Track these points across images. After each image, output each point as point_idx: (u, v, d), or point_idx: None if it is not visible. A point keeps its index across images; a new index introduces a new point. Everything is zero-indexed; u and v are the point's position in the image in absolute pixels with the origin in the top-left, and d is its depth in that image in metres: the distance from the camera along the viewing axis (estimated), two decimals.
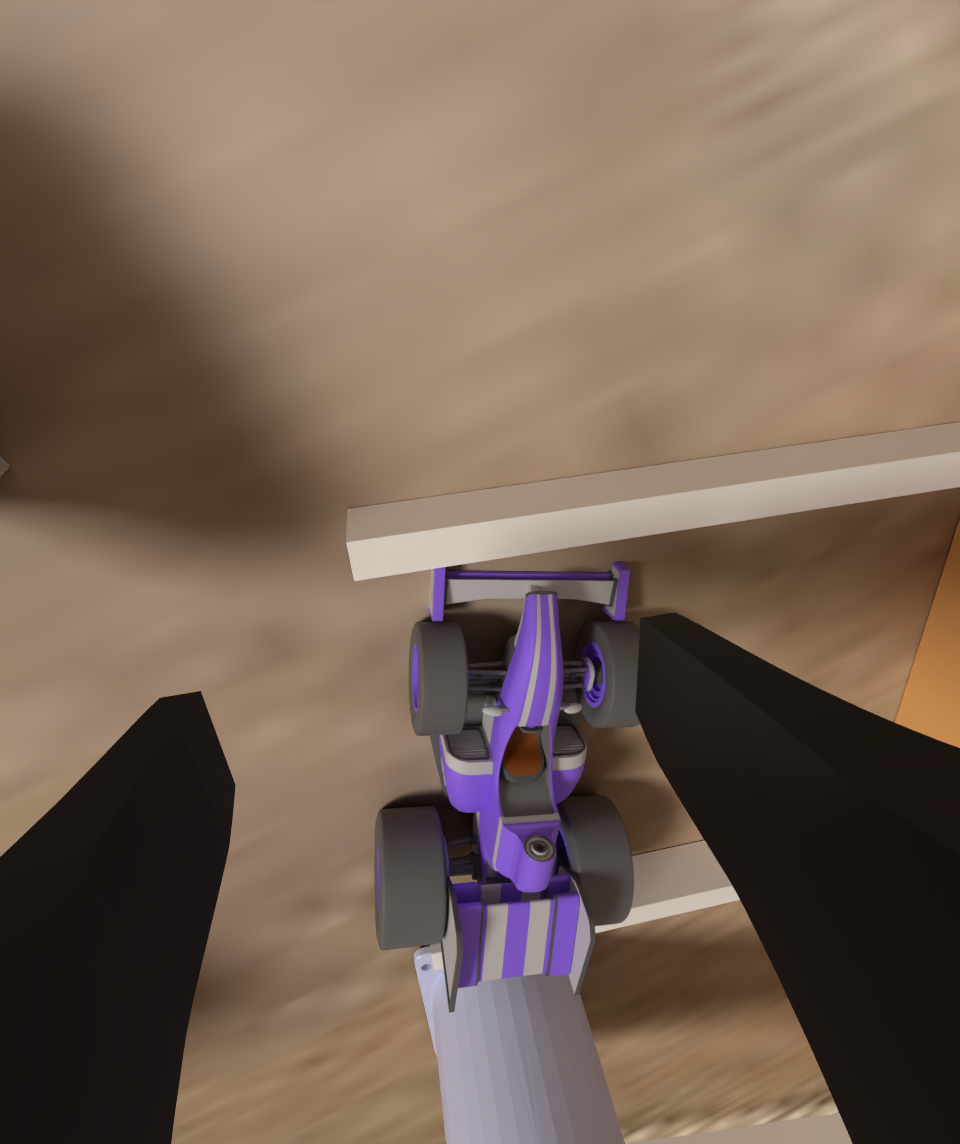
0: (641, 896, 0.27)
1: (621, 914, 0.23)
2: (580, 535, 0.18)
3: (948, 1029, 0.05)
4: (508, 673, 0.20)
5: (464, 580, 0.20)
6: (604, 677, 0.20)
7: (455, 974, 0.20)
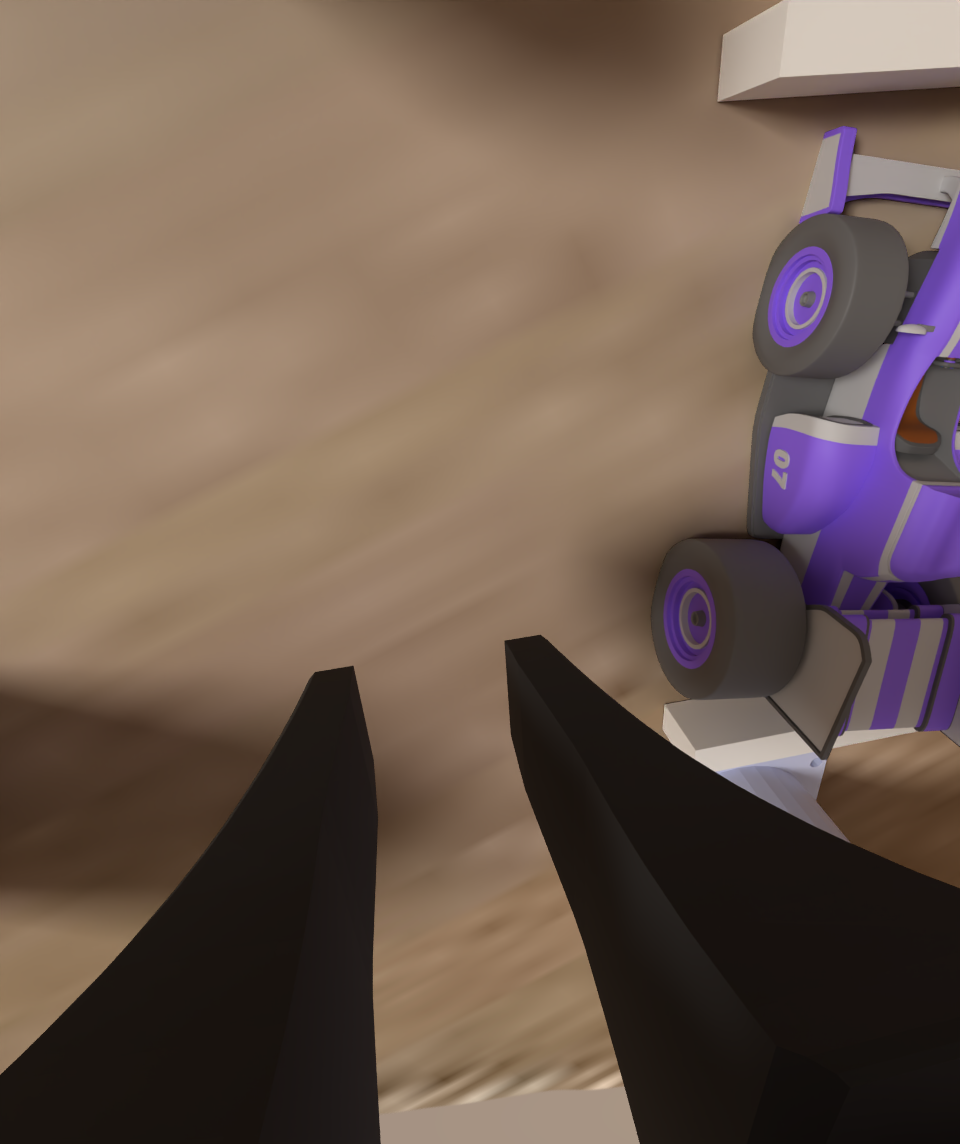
0: None
1: None
2: None
3: (690, 1097, 0.05)
4: (927, 284, 0.15)
5: (869, 158, 0.15)
6: None
7: (852, 693, 0.15)
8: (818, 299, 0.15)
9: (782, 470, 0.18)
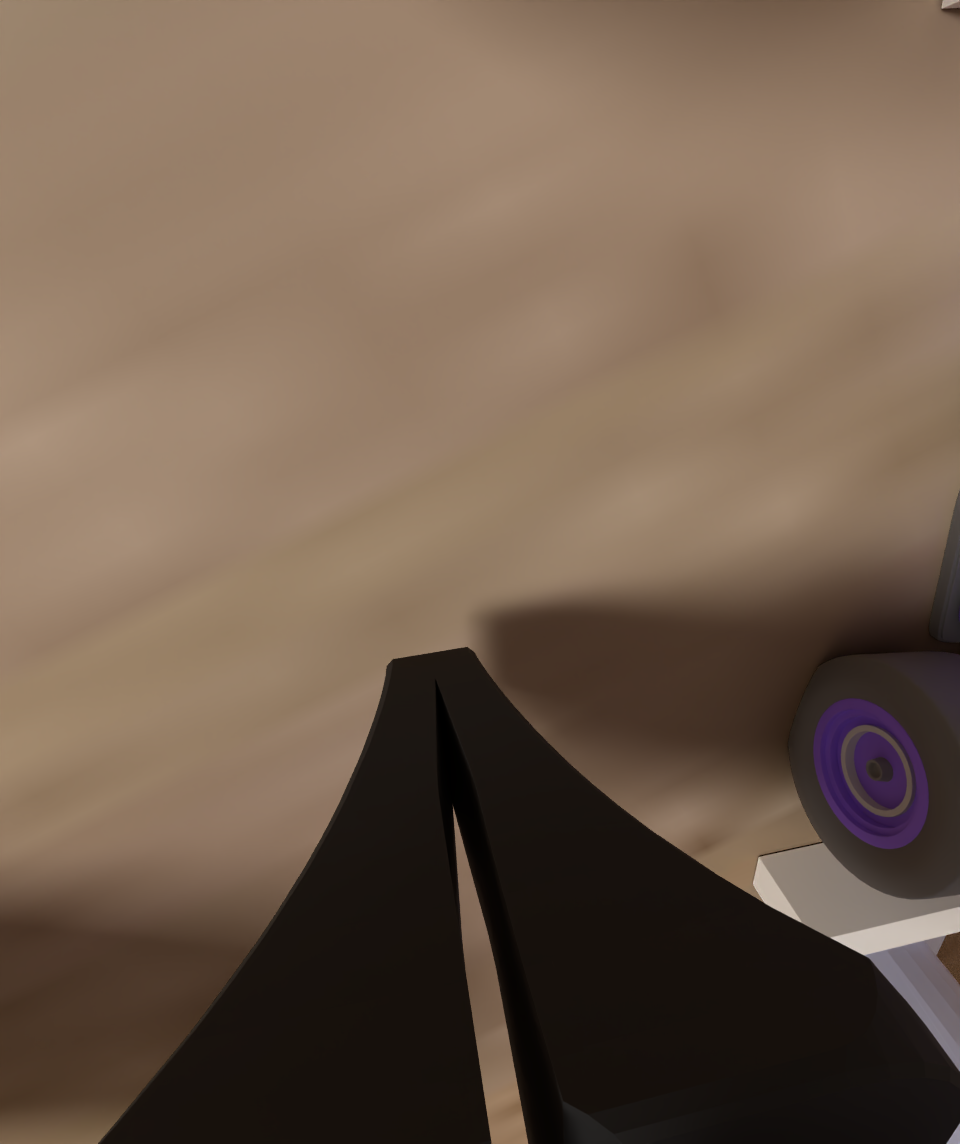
0: None
1: None
2: None
3: (543, 1136, 0.05)
4: None
5: None
6: None
7: None
8: None
9: None
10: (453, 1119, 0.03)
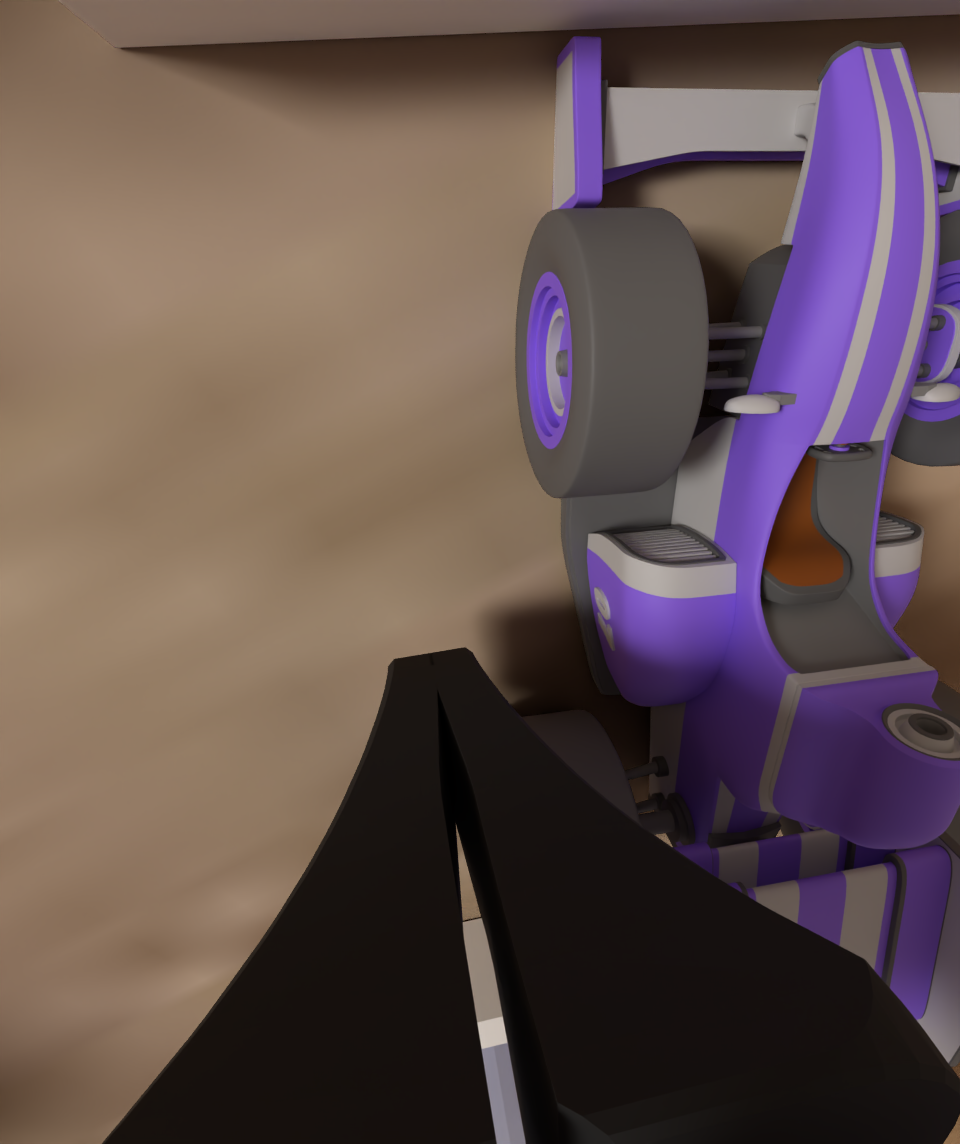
0: None
1: None
2: None
3: (540, 1137, 0.05)
4: (778, 314, 0.08)
5: (644, 92, 0.08)
6: None
7: None
8: None
9: (606, 620, 0.11)
10: (458, 1118, 0.03)
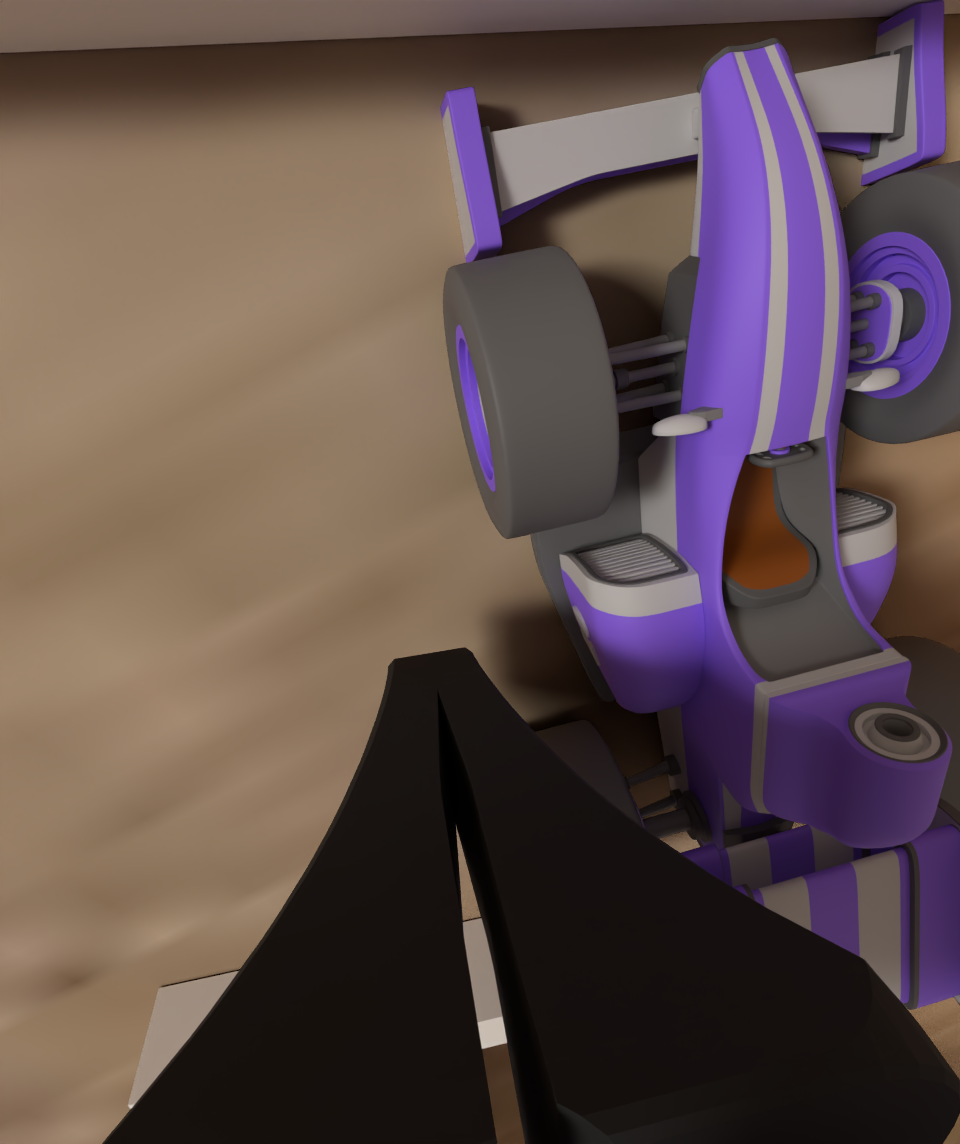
0: None
1: None
2: None
3: (539, 1137, 0.05)
4: (695, 328, 0.08)
5: (530, 128, 0.08)
6: (944, 280, 0.08)
7: None
8: None
9: (588, 637, 0.11)
10: (458, 1118, 0.03)
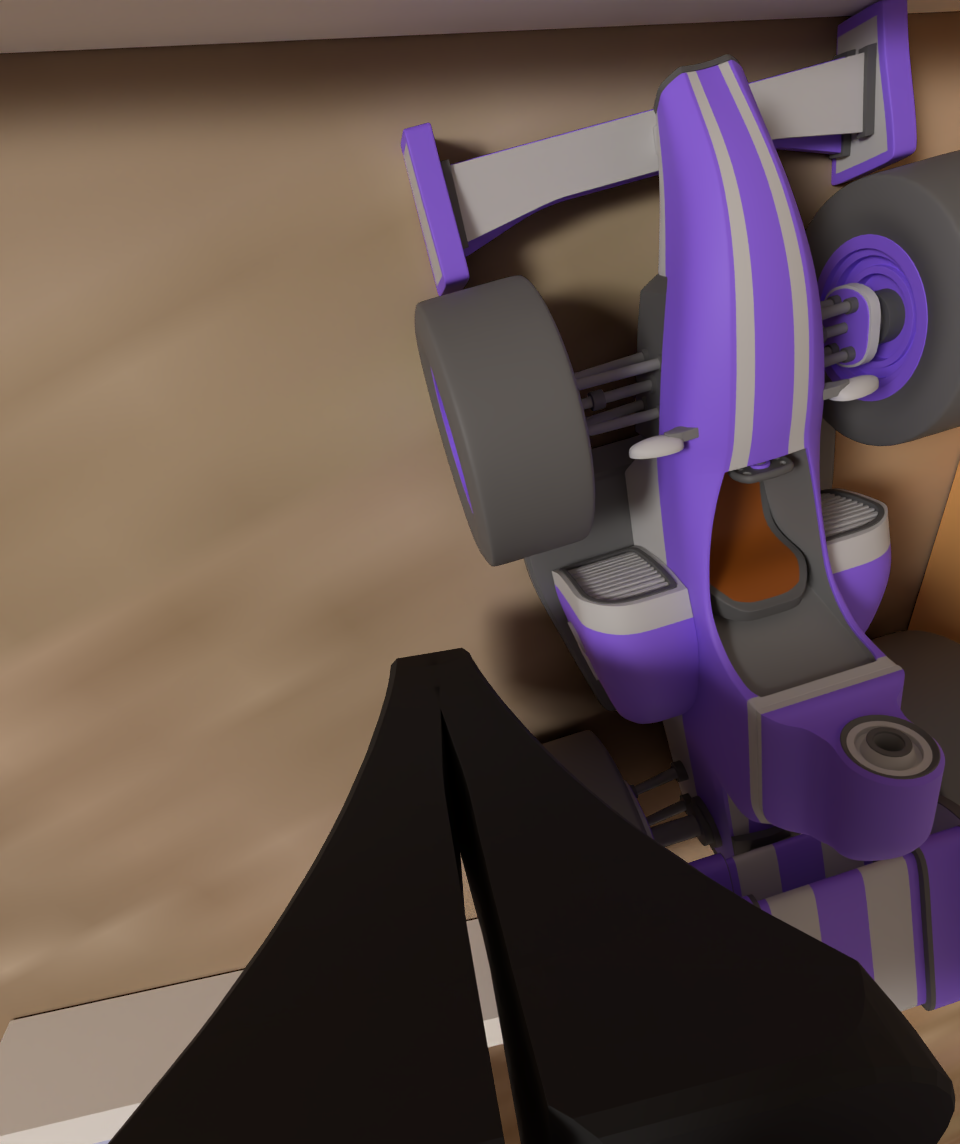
0: None
1: None
2: None
3: (533, 1139, 0.05)
4: (667, 348, 0.08)
5: (490, 158, 0.08)
6: (919, 283, 0.08)
7: None
8: None
9: (585, 652, 0.11)
10: (465, 1116, 0.03)
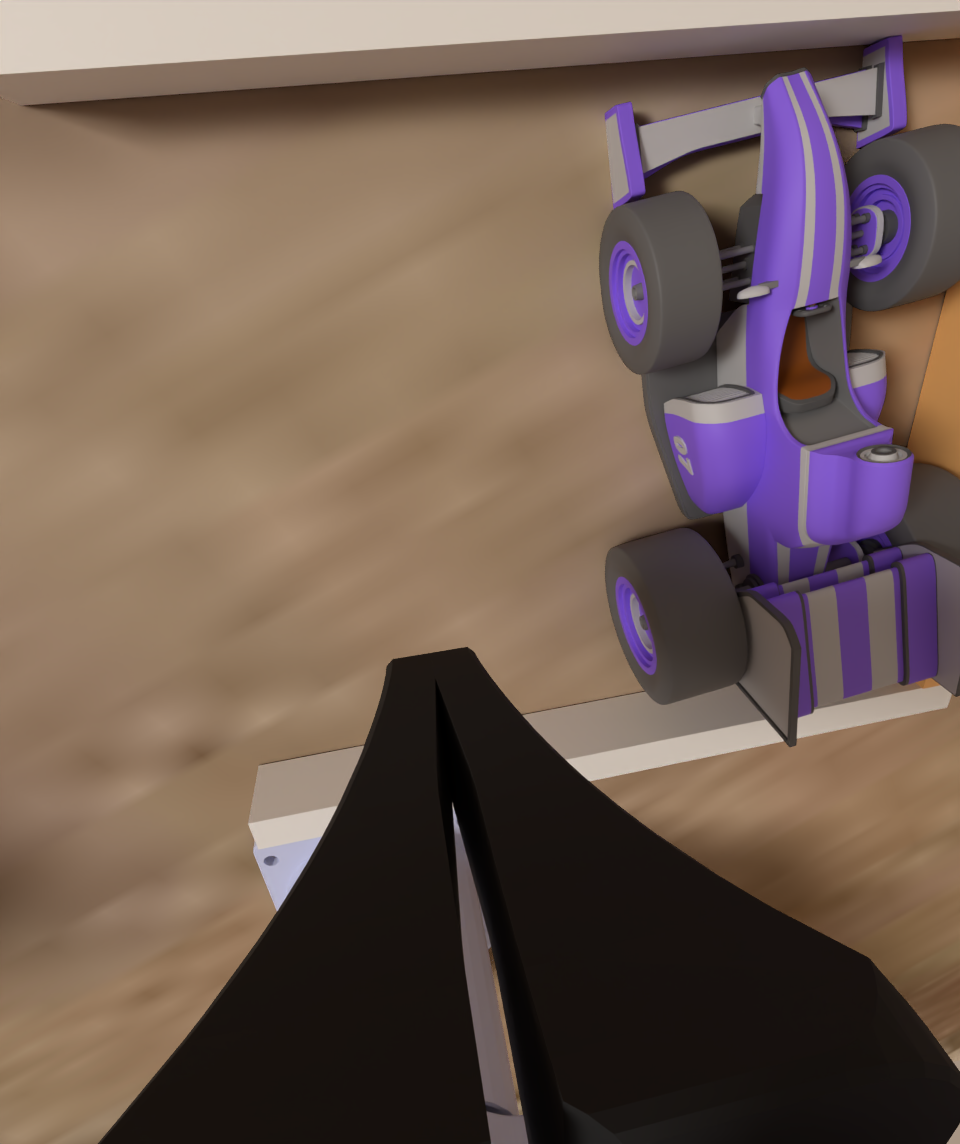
0: None
1: None
2: (350, 25, 0.11)
3: (543, 1136, 0.05)
4: (760, 235, 0.14)
5: (660, 123, 0.14)
6: (906, 200, 0.14)
7: (793, 681, 0.15)
8: None
9: (685, 456, 0.17)
10: (453, 1119, 0.03)
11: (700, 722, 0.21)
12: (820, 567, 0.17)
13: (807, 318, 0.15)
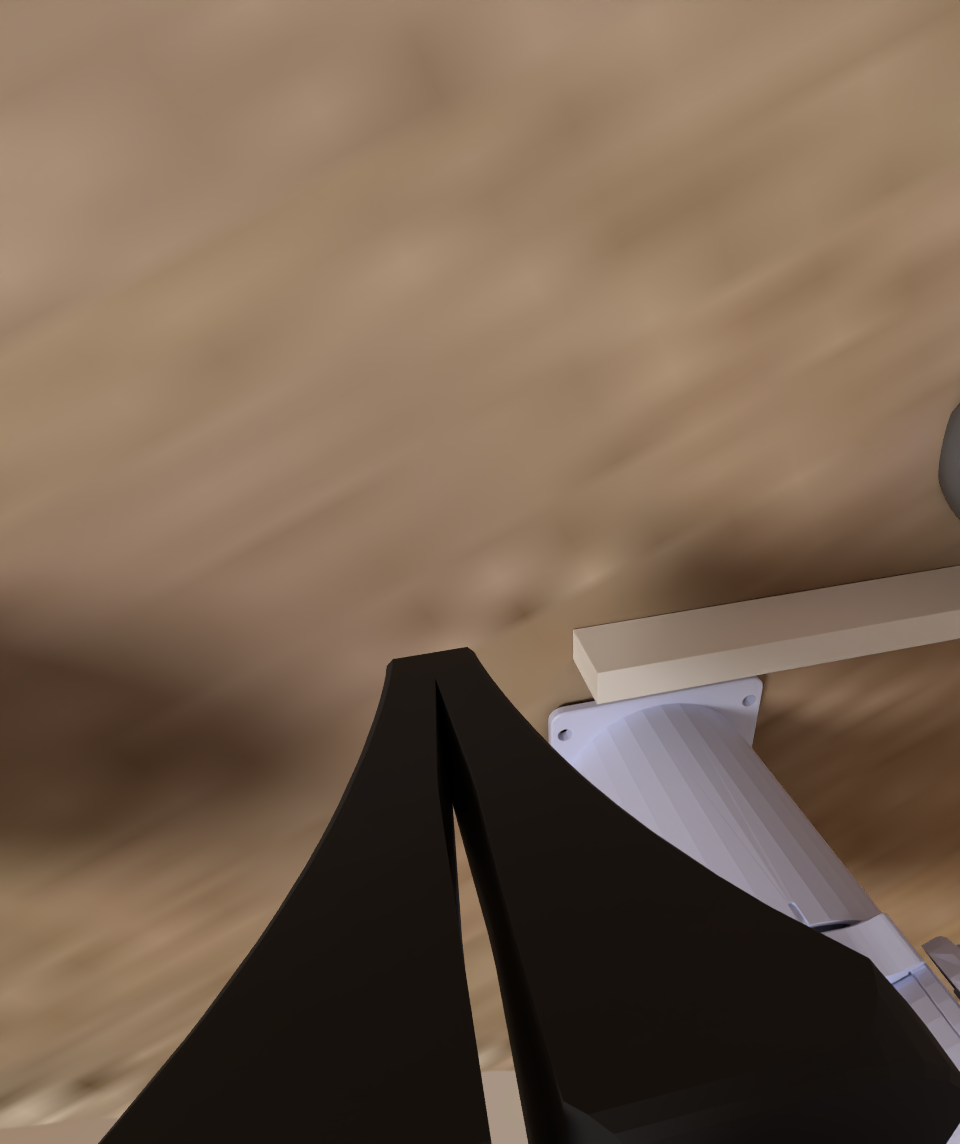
0: (873, 616, 0.20)
1: None
2: None
3: (544, 1136, 0.05)
4: None
5: None
6: None
7: None
8: None
9: None
10: (453, 1119, 0.03)
11: None
12: None
13: None
